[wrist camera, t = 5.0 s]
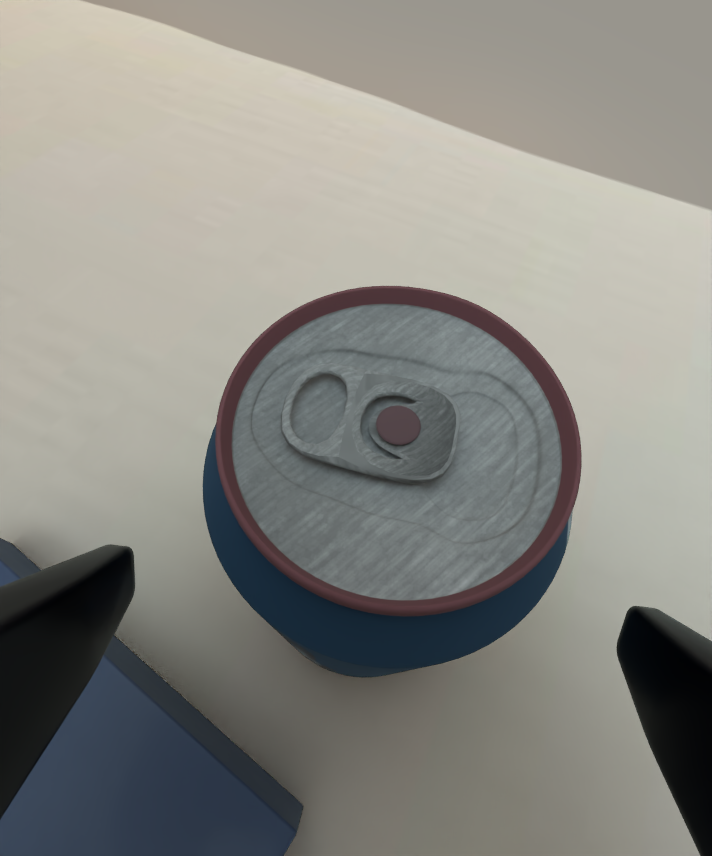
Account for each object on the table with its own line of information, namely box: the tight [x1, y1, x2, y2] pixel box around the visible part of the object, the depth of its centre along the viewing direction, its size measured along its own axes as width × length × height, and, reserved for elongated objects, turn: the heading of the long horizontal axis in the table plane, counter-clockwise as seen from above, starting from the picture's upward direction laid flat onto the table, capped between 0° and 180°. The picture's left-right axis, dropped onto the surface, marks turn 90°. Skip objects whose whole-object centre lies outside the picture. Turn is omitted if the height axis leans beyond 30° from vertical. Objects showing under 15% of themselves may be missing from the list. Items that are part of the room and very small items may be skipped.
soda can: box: [203, 286, 581, 677], centre depth 13 cm, size 7×7×12 cm
